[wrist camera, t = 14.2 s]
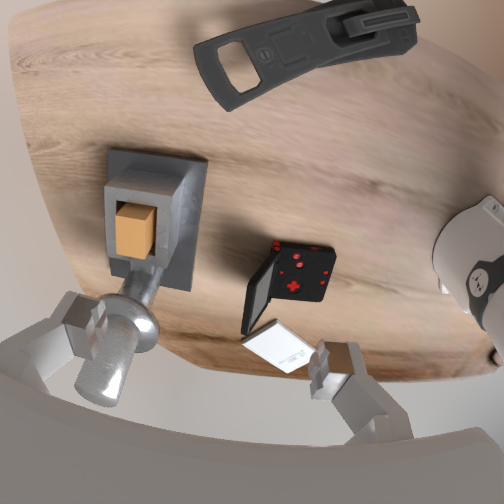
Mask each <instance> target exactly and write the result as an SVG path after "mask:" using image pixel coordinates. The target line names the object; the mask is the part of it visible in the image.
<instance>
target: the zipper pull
mask: <svg viewBox="0 0 504 504" xmlns="http://www.w3.org/2000/svg"><path fill="white" fill-rule="evenodd" d="M416 23H420V19H419V16H418V14H417V11H416V9H415V7H414V6H407V5H406V4H405V2H404V1H403V0H332V1H329V2H327V3H324V4H321V5H319V6H316V7H314V8H311V9H309V10H307V11H304V12H302V13H299V14H294V15H290V16H286V17H282V18H278V19H274V20H270V21H266V22H262V23H259V24H255V25H252V26H249V27H245V28H242V29H239V30H235V31H232V32H228V33H226V34H223V35H220V36H217V37H214V38H212V39H209V40H206V41H204V42H201V43H199V44H196V45H194V47H193V50H194V56H195V61H196V65H197V67H198V70H199V73H200V75H201V77H202V79H203V81H204V83H205V85H206V87H207V88H208V90H209V91H210V93H211V94H212V96H213V97H214V99H215V100H216V101H217V102H218V103H219V104H220V105H221V106H222V107H223V108H224V109H225V110H226V112H231V111H233V110H234V109H236V108H238V107H240V106H242V105H243V104H245V103H247V102H249V101H251V100H253V99H255V98H257V97H258V96H260V95H262V94H264V93H266V92H268V91H269V90H271V89H273V88H275V87H277V86H279V85H281V84H283V83H285V82H287V81H289V80H292V79H294V78H296V77H298V76H300V75H302V74H304V73H307V72H309V71H311V70H313V69H315V68H321V67H327V66H331V65H336V64H342V63H347V62H353V61H358V60H364V59H371V58H378V57H386V56H395V55H403V54H405V53H406V52H407V51H408V50H409V49H411V48H412V47H413V46H414V45H415V44H417V33H416ZM233 41H237V42H242V44H243V46H244V48H245V50H246V52H247V54H248V56H249V58H250V60H251V62H252V64H253V66H254V68H255V70H256V72H257V74H258V76H259V78H260V82H259V84H258V85H257V86H256V87H254V88H252V89H249V90H247V91H245V92H243V93H240V92H238V91H237V90H236V89H235V87H234V86H233V85H232V84H231V82H230V80H229V79H228V77H227V75H226V73H225V71H224V69H223V67H222V65H221V63H220V61H219V58H218V53H217V49H218V48H219V47H221V46H223V45H226V44H228V43H230V42H233Z"/></svg>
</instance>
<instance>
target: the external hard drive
mask: <svg viewBox="0 0 504 504" xmlns="http://www.w3.org/2000/svg"><path fill="white" fill-rule="evenodd" d="M242 345H244V346H245V347H247V348H248V349H250V350H251V351H253V352H254V353H256V354H257V355H259V356H261V357H262V358H264V359H265V360H267V361H268V362H270V363H271V364H273V365H275V366H276V367H278V368H279V369H281V370H283V371H284V372H286V373H289V372H291V371H293V370H295V369H297V368H299V367H301V366H303V365H305V364H307V363H309V360H310V357H311V355H312V353H313V352H315V351H317V350H316V349H315V348H314V347H312V346H311V345H310V344H309V343H307V342H306V341H305V340H303V339H302V338H301V337H299V336H298V335H297V334H296V333H294V332H293V331H292V330H290V329H289V328H288V327H287V326H285V325H284V324H283V323H281V322H280V321H279V320H278V319H276V320H275V321H273V322H272V323H270V324H268V325H267V326H265V327H264V328H262V329H260V330H259V331H257V332H255V333H254V334H252V335H251V336H249V337H247V338H246V339H244V340H242Z"/></svg>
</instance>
